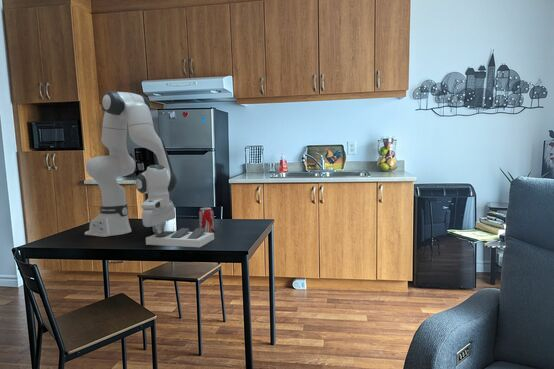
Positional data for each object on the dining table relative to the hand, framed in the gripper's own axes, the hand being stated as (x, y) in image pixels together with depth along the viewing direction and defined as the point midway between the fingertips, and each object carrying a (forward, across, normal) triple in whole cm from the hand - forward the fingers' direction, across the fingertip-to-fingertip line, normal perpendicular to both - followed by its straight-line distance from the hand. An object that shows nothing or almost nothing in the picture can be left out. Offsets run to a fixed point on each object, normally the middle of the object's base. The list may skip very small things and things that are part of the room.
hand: (161, 232), depth 167 cm
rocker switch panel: (+5, -3, +8) cm, 10 cm away
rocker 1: (+2, -3, 0) cm, 4 cm away
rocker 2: (+2, -3, +16) cm, 16 cm away
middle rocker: (+2, -3, +8) cm, 9 cm away
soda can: (+5, -23, +11) cm, 26 cm away
